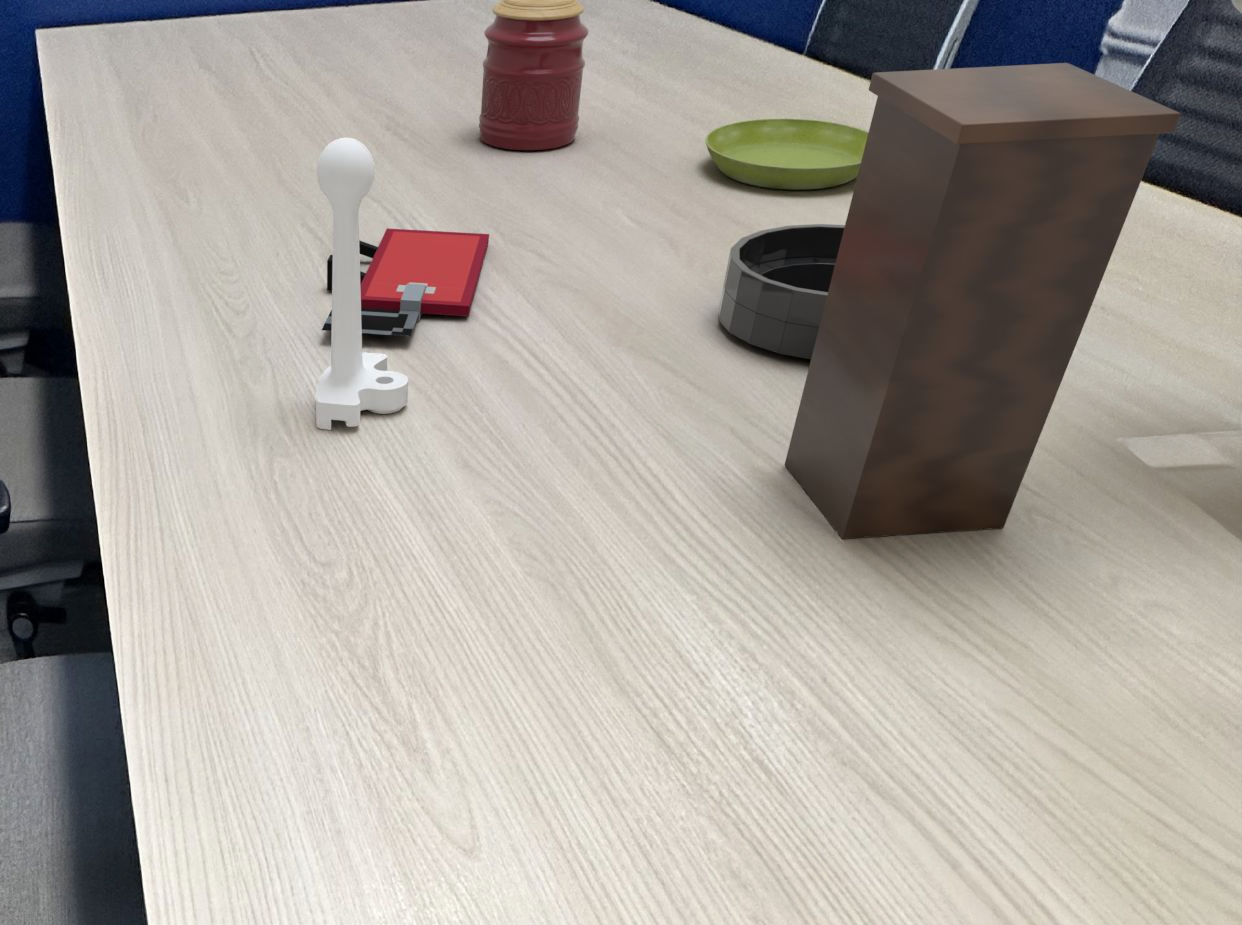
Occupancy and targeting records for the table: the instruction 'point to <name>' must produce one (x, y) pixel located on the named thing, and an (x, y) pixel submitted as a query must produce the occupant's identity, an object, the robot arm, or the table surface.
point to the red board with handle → (416, 278)
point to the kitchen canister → (532, 74)
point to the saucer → (788, 152)
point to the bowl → (780, 286)
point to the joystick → (351, 299)
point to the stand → (963, 289)
